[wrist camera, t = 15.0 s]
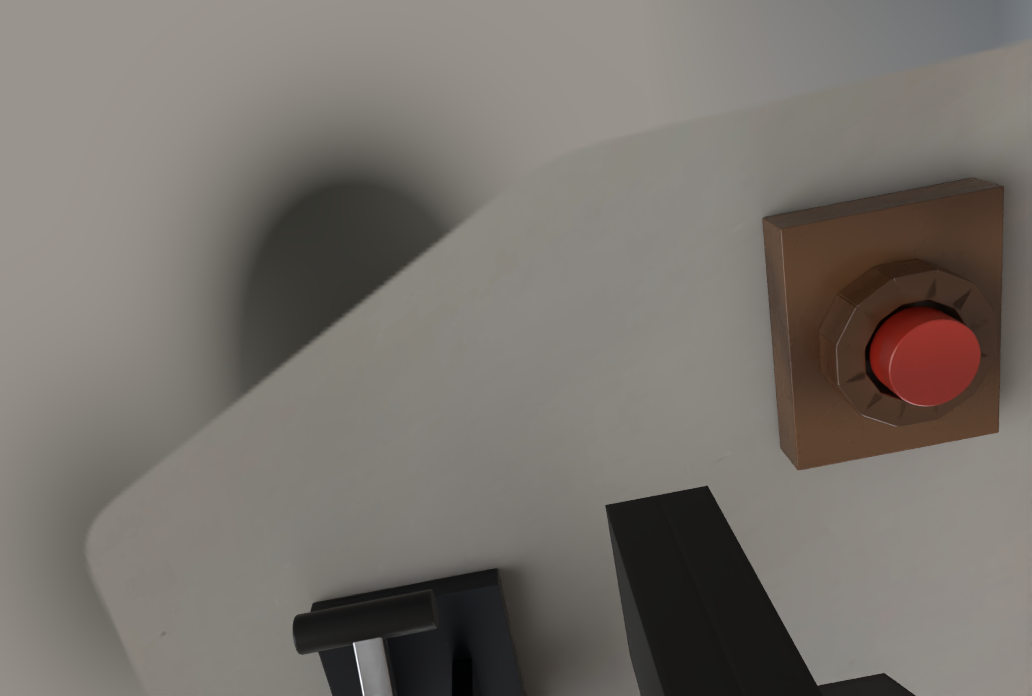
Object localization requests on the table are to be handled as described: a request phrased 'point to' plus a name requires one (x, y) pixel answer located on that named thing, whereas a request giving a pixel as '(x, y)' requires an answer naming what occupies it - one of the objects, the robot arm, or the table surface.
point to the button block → (880, 315)
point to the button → (925, 355)
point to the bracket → (442, 643)
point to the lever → (368, 633)
